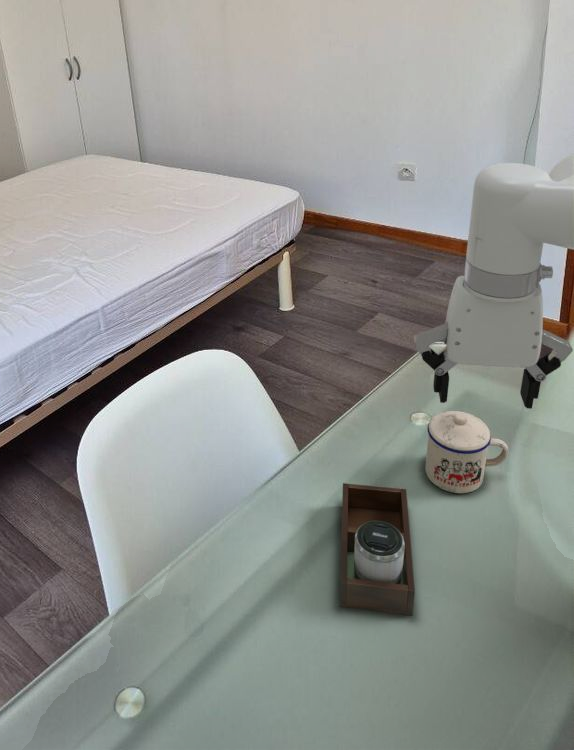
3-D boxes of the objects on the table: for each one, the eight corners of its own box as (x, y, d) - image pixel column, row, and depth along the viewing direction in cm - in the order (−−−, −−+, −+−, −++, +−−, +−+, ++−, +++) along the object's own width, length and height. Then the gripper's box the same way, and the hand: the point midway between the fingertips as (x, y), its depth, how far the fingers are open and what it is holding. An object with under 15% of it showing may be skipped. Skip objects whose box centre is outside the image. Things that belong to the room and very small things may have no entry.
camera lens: (400, 602, 88) (404, 559, 85) (350, 591, 90) (352, 549, 87) (402, 563, 94) (406, 521, 90) (356, 553, 96) (357, 512, 92)
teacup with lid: (427, 493, 105) (433, 434, 100) (420, 452, 113) (425, 395, 108) (510, 499, 103) (521, 438, 98) (497, 457, 111) (506, 399, 106)
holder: (404, 511, 103) (406, 488, 101) (412, 615, 87) (414, 591, 85) (342, 505, 105) (342, 482, 103) (339, 606, 89) (340, 582, 87)
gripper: (575, 262, 78) (552, 384, 86) (416, 258, 82) (407, 376, 89) (595, 294, 71) (568, 424, 79) (422, 288, 75) (411, 413, 83)
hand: (483, 398), depth 84 cm, fingers open, 9 cm apart
